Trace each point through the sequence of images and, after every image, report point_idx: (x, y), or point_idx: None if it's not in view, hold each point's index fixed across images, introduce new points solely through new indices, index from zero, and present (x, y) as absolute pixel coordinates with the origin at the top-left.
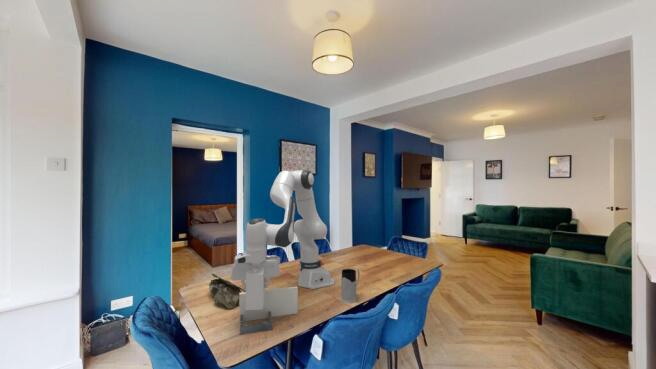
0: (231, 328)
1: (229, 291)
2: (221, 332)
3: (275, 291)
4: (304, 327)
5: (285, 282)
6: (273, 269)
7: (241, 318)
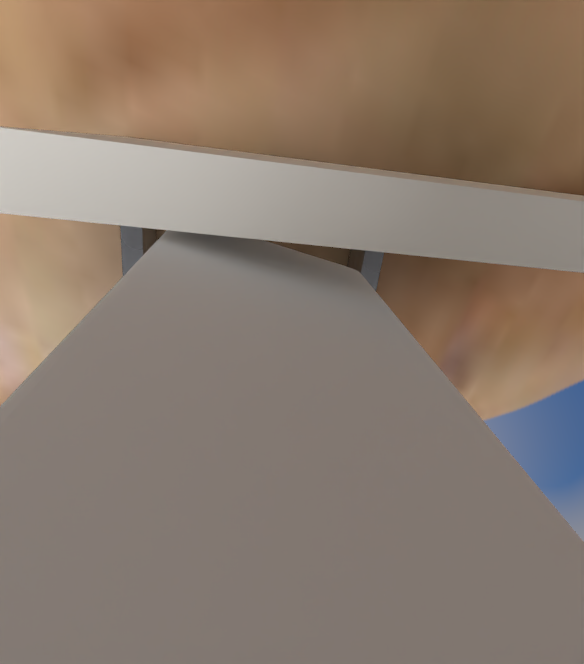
0: (74, 263)
1: None
2: (8, 292)
3: (543, 265)
4: (511, 410)
5: None
6: None
7: (132, 262)
